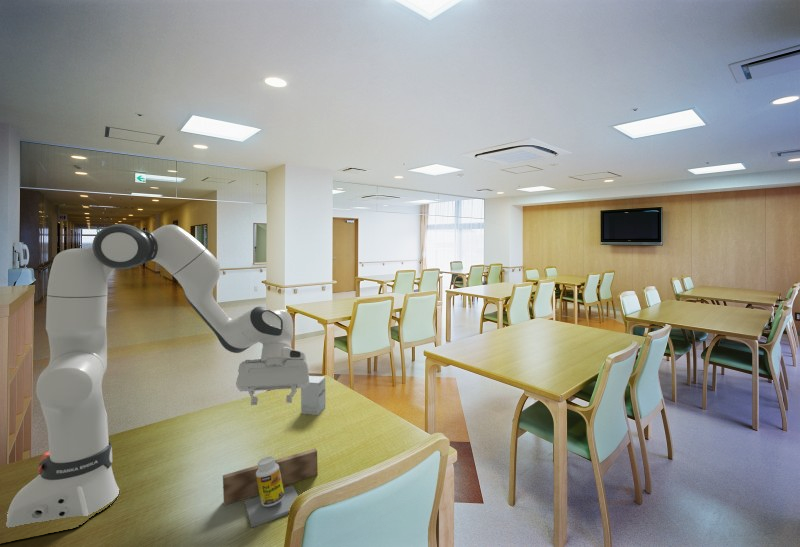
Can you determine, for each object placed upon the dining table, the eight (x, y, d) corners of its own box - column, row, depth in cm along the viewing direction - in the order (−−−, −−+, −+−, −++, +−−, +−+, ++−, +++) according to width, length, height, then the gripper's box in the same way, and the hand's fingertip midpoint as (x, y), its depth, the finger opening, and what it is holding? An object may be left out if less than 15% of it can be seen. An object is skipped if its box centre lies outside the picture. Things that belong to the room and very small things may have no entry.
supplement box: (318, 415, 141) (318, 383, 140) (300, 413, 143) (299, 381, 142) (326, 407, 149) (325, 376, 148) (309, 405, 150) (308, 375, 149)
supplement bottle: (263, 511, 89) (254, 468, 89) (260, 500, 94) (252, 460, 94) (286, 500, 91) (278, 459, 91) (282, 491, 96) (275, 452, 96)
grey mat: (251, 527, 86) (251, 524, 85) (245, 504, 93) (245, 501, 93) (303, 508, 92) (302, 505, 92) (293, 488, 99) (293, 485, 99)
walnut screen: (224, 505, 93) (223, 478, 92) (223, 501, 94) (222, 475, 94) (317, 474, 105) (317, 450, 105) (315, 471, 106) (315, 448, 106)
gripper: (238, 355, 109) (229, 401, 100) (309, 352, 113) (307, 396, 104) (241, 365, 114) (234, 410, 105) (310, 362, 117) (308, 405, 109)
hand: (271, 403), depth 104 cm, fingers open, 8 cm apart
